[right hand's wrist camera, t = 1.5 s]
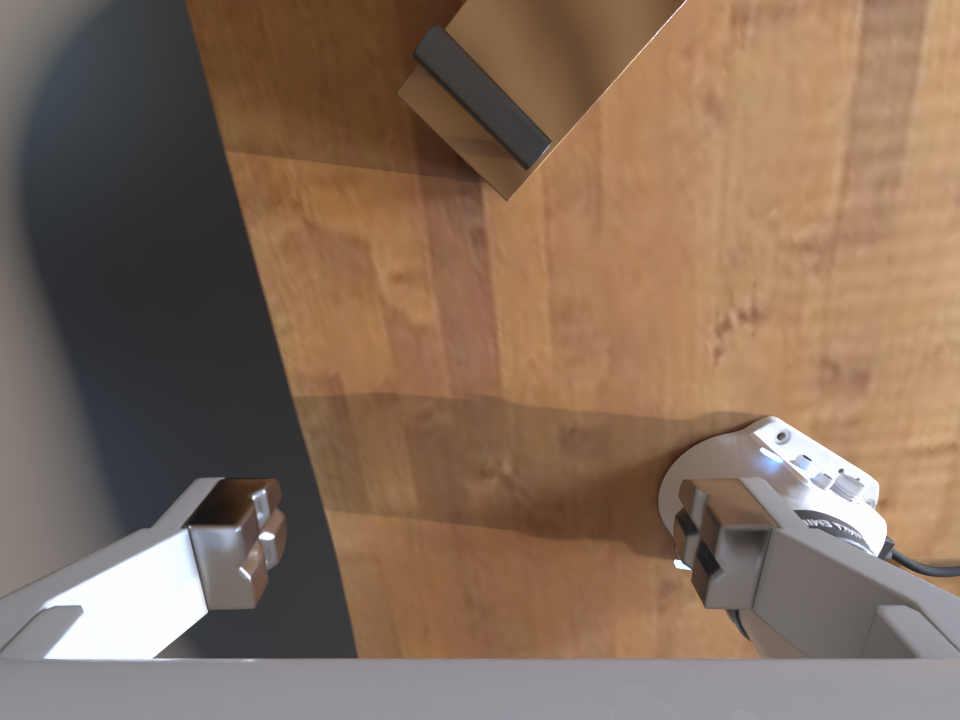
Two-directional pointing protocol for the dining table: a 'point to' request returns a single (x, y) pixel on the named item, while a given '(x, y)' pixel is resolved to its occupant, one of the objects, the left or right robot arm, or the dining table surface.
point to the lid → (524, 75)
